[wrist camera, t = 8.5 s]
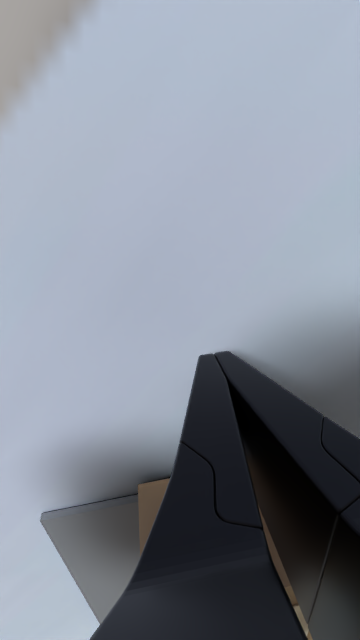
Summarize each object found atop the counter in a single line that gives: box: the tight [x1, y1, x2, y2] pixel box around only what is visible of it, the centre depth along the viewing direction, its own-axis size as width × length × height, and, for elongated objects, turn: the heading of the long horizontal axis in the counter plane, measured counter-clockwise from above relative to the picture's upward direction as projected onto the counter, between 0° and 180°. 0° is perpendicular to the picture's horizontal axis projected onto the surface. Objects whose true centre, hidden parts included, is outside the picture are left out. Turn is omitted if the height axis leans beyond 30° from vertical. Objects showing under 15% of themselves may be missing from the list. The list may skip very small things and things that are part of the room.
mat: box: [40, 495, 140, 624], centre depth 17 cm, size 12×14×1 cm
